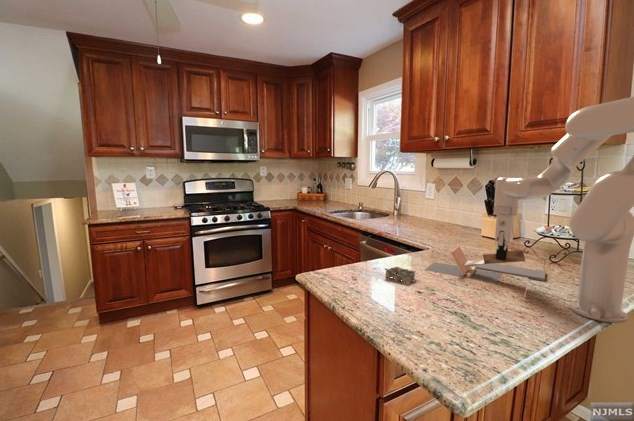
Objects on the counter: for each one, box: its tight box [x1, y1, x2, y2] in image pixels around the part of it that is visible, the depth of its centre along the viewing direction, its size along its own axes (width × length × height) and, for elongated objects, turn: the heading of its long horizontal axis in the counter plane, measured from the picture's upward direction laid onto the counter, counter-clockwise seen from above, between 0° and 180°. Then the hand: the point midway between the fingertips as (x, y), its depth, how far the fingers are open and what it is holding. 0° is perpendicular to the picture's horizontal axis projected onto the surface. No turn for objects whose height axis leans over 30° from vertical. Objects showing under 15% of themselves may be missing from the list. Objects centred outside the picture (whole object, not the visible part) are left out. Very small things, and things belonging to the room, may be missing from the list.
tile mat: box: [424, 261, 502, 284], centre depth 125 cm, size 13×26×2 cm, turn 52°
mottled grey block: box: [384, 266, 417, 283], centre depth 120 cm, size 11×8×4 cm
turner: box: [464, 249, 526, 267], centre depth 118 cm, size 20×6×4 cm, turn 52°
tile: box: [450, 245, 472, 276], centre depth 125 cm, size 10×1×10 cm, turn 142°
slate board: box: [473, 263, 546, 282], centre depth 126 cm, size 10×24×1 cm, turn 52°
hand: (501, 258), depth 116 cm, fingers closed on turner, 2 cm apart
